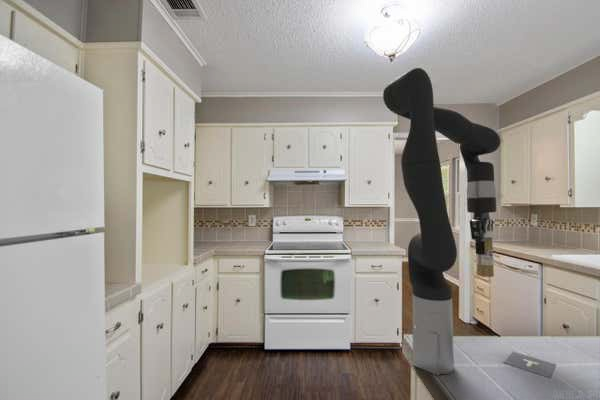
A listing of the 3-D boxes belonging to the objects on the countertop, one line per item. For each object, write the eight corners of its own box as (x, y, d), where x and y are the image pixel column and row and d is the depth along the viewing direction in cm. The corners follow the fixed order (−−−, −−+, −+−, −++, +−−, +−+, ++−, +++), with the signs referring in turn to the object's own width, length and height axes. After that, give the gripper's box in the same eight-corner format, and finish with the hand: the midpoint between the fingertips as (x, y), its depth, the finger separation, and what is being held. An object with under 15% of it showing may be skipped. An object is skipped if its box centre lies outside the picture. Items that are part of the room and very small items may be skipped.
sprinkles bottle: (490, 278, 82) (488, 231, 83) (473, 275, 86) (471, 230, 86) (497, 276, 84) (495, 230, 85) (480, 273, 88) (479, 230, 89)
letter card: (549, 377, 66) (549, 377, 66) (503, 362, 73) (503, 362, 73) (556, 364, 72) (556, 364, 72) (512, 351, 79) (512, 351, 79)
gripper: (475, 198, 94) (477, 250, 93) (458, 196, 85) (460, 254, 84) (502, 197, 88) (504, 252, 87) (487, 195, 79) (490, 257, 78)
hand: (483, 253), depth 85 cm, fingers closed on sprinkles bottle, 4 cm apart
